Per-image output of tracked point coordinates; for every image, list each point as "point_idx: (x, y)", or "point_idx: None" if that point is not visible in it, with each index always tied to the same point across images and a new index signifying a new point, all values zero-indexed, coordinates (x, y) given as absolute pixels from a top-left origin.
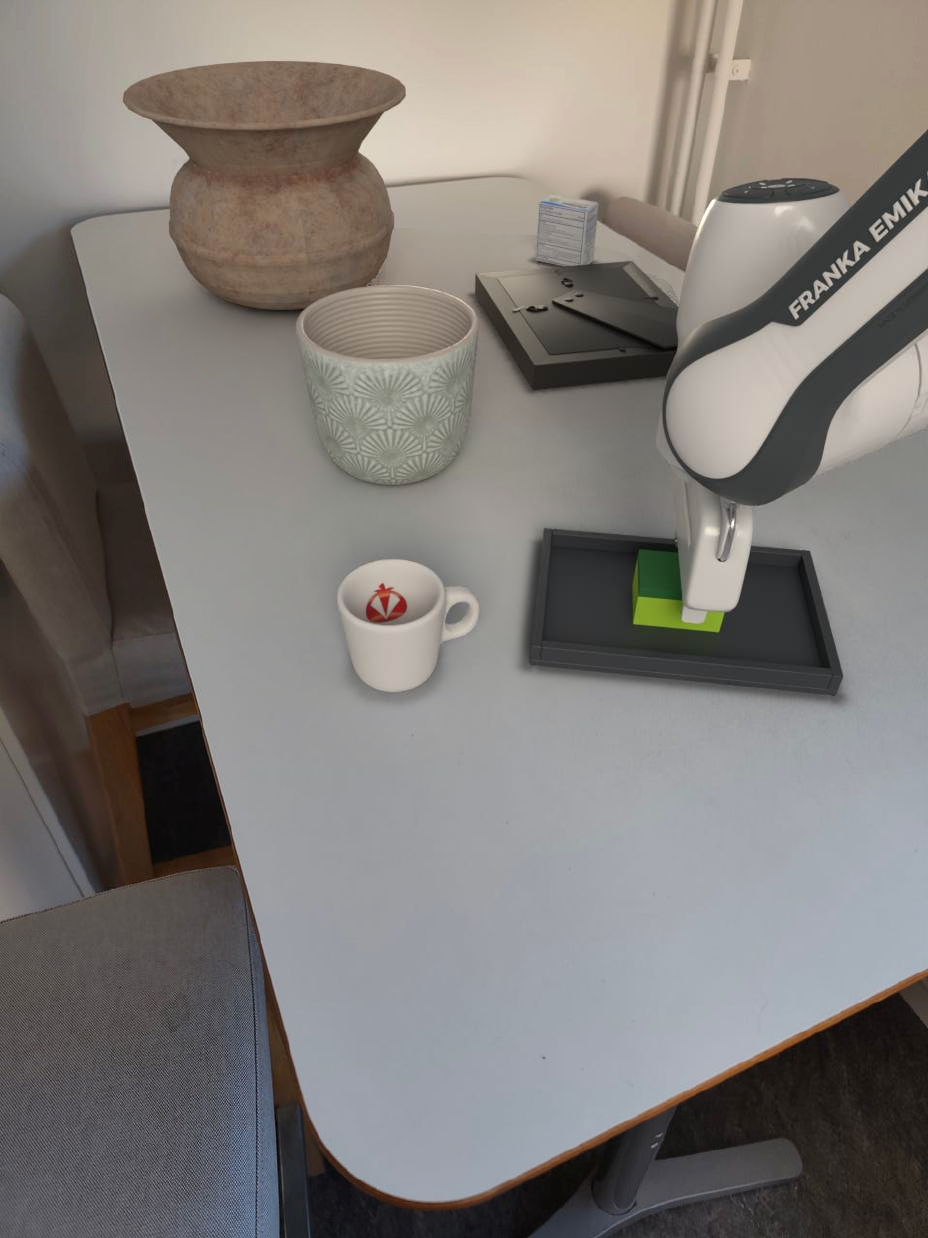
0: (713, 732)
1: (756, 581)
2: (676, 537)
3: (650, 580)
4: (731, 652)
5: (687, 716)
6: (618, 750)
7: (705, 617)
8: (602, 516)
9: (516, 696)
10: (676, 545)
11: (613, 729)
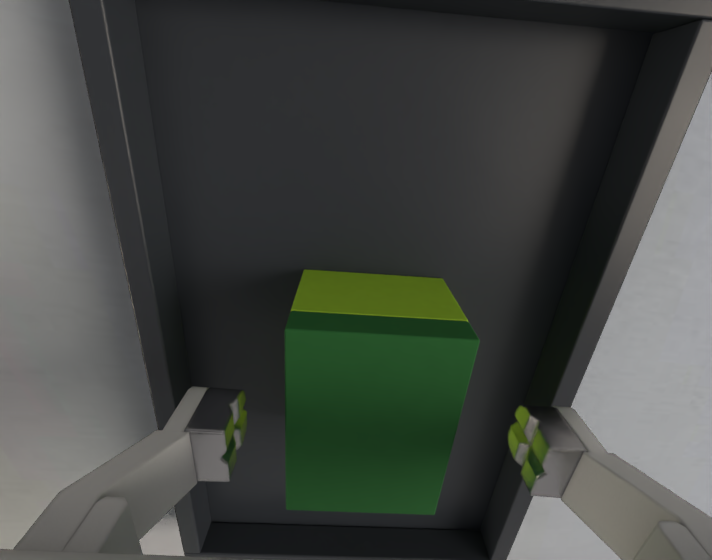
0: (686, 313)
1: (236, 149)
2: (236, 460)
3: (409, 497)
4: (509, 261)
5: (636, 348)
6: (673, 441)
7: (579, 417)
8: (71, 439)
9: (542, 536)
10: (245, 433)
11: (632, 445)
